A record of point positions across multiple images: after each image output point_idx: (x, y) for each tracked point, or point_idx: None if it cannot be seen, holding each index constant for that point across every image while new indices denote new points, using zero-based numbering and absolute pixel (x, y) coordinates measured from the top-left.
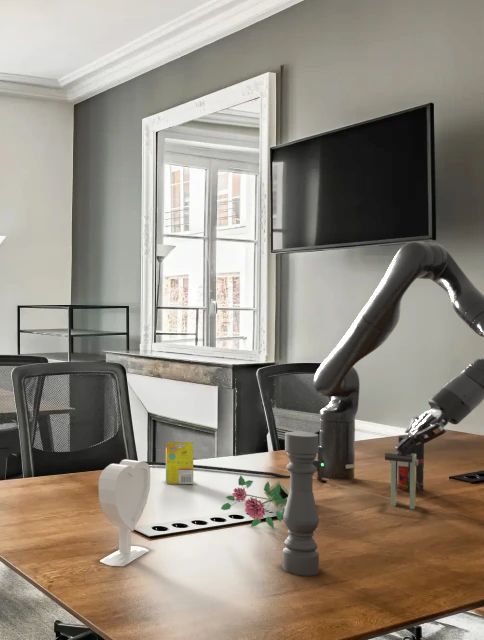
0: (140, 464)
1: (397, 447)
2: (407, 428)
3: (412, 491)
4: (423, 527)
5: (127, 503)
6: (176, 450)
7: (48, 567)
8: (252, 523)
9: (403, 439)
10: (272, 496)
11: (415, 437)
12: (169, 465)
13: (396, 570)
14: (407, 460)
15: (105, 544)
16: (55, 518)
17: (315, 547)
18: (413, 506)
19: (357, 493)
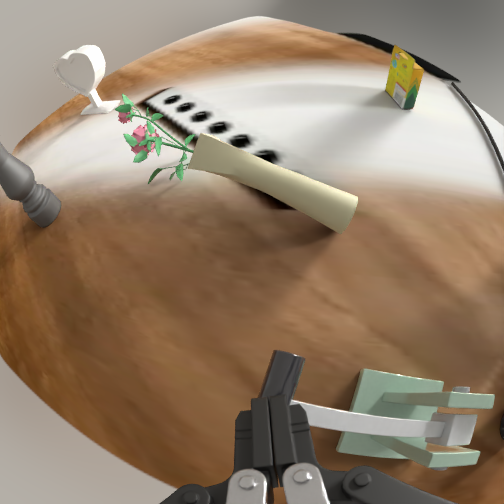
0: (73, 55)
1: (253, 399)
2: (393, 485)
3: (385, 441)
4: None
5: (76, 79)
6: (399, 59)
7: None
8: (185, 156)
9: (287, 441)
10: (148, 143)
11: (210, 490)
12: (390, 72)
13: (39, 305)
14: None
15: (125, 91)
16: (194, 56)
17: (24, 210)
18: (372, 437)
19: (495, 331)
